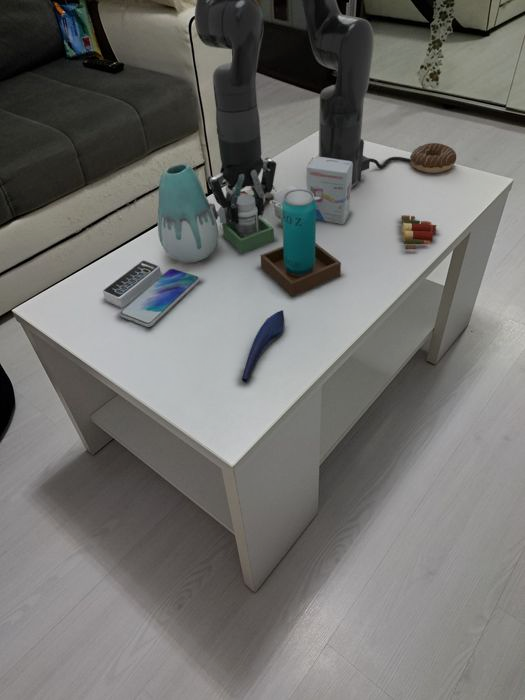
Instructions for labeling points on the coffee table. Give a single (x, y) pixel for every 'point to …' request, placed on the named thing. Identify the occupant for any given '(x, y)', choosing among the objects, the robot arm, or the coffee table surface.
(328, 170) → the ink box
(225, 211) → the figurine
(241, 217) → the pill bottle
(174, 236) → the vase
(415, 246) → the ammunition
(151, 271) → the multiport hub
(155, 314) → the smartphone
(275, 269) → the can tray
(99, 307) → the coffee table surface
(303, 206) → the beverage can
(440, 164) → the donut
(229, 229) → the pill tray
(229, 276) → the coffee table surface
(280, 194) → the figurine
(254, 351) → the tapered navy handle
